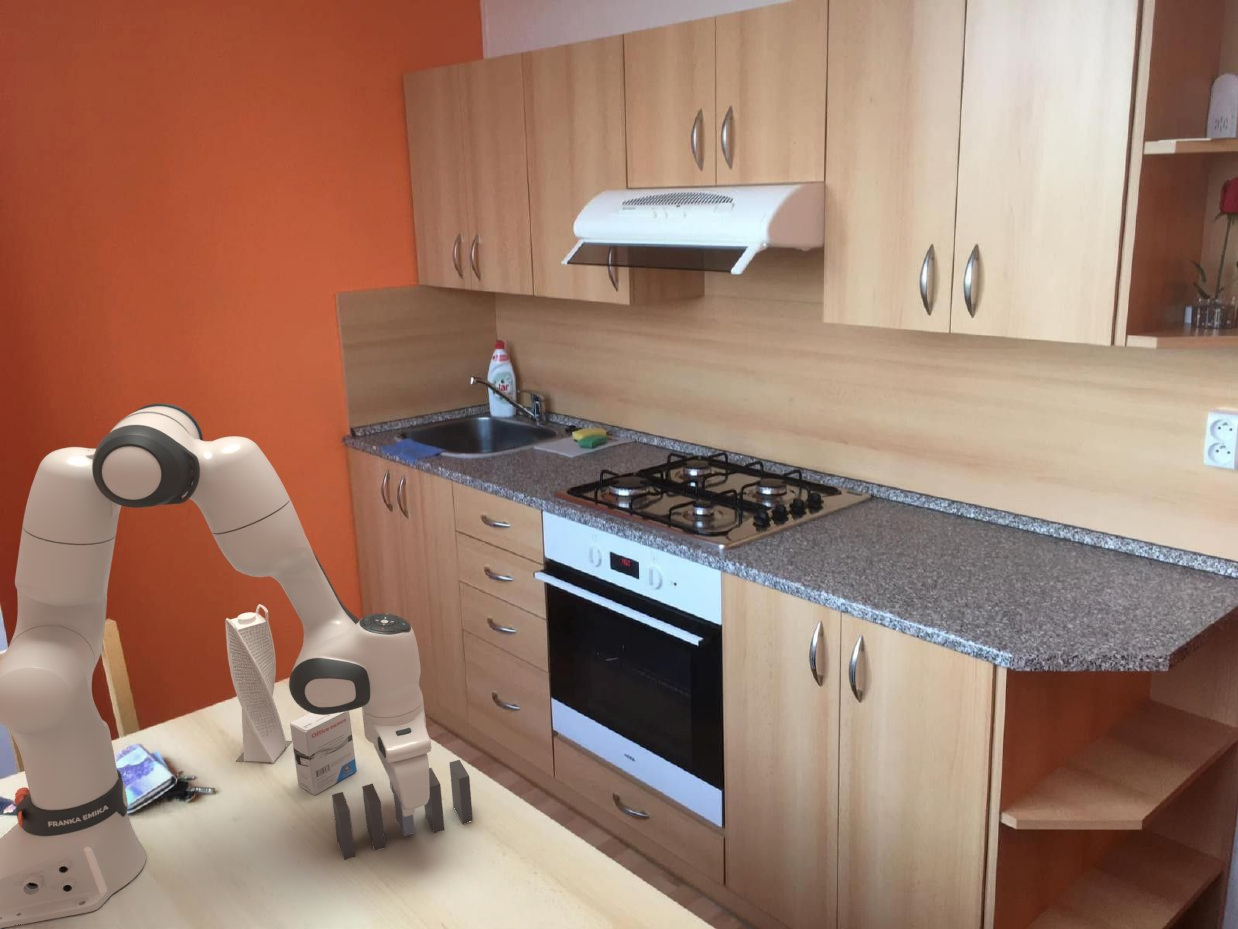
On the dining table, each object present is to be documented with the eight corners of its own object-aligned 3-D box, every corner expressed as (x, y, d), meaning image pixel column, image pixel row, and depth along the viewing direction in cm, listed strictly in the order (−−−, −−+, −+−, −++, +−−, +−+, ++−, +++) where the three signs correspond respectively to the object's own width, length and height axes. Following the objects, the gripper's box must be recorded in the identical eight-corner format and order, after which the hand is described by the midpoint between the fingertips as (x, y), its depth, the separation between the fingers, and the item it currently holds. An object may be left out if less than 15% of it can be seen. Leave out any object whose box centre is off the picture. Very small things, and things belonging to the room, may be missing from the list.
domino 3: (404, 836, 154) (399, 789, 152) (396, 818, 159) (391, 772, 156) (414, 833, 155) (410, 786, 153) (406, 815, 159) (401, 769, 157)
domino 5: (462, 824, 158) (459, 778, 156) (453, 807, 163) (449, 762, 160) (472, 821, 159) (469, 776, 157) (463, 804, 163) (459, 759, 161)
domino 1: (344, 860, 151) (338, 813, 149) (337, 841, 155) (331, 794, 153) (355, 857, 152) (349, 809, 149) (348, 838, 156) (342, 791, 154)
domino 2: (374, 851, 153) (369, 804, 150) (367, 832, 157) (362, 786, 155) (385, 847, 153) (380, 801, 151) (377, 829, 158) (372, 783, 155)
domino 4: (434, 833, 156) (429, 787, 154) (425, 815, 161) (421, 770, 158) (444, 830, 157) (440, 784, 155) (435, 812, 161) (431, 767, 159)
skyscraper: (300, 743, 182) (280, 597, 175) (279, 769, 175) (257, 617, 167) (255, 741, 184) (233, 595, 176) (232, 766, 176) (209, 615, 168)
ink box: (340, 762, 176) (332, 700, 172) (358, 772, 173) (350, 709, 169) (296, 785, 170) (288, 721, 166) (314, 796, 166) (306, 731, 163)
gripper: (357, 694, 159) (366, 773, 163) (389, 759, 142) (398, 845, 146) (398, 684, 162) (405, 762, 166) (434, 747, 144) (442, 832, 148)
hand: (402, 802), depth 156 cm, fingers closed on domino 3, 5 cm apart
